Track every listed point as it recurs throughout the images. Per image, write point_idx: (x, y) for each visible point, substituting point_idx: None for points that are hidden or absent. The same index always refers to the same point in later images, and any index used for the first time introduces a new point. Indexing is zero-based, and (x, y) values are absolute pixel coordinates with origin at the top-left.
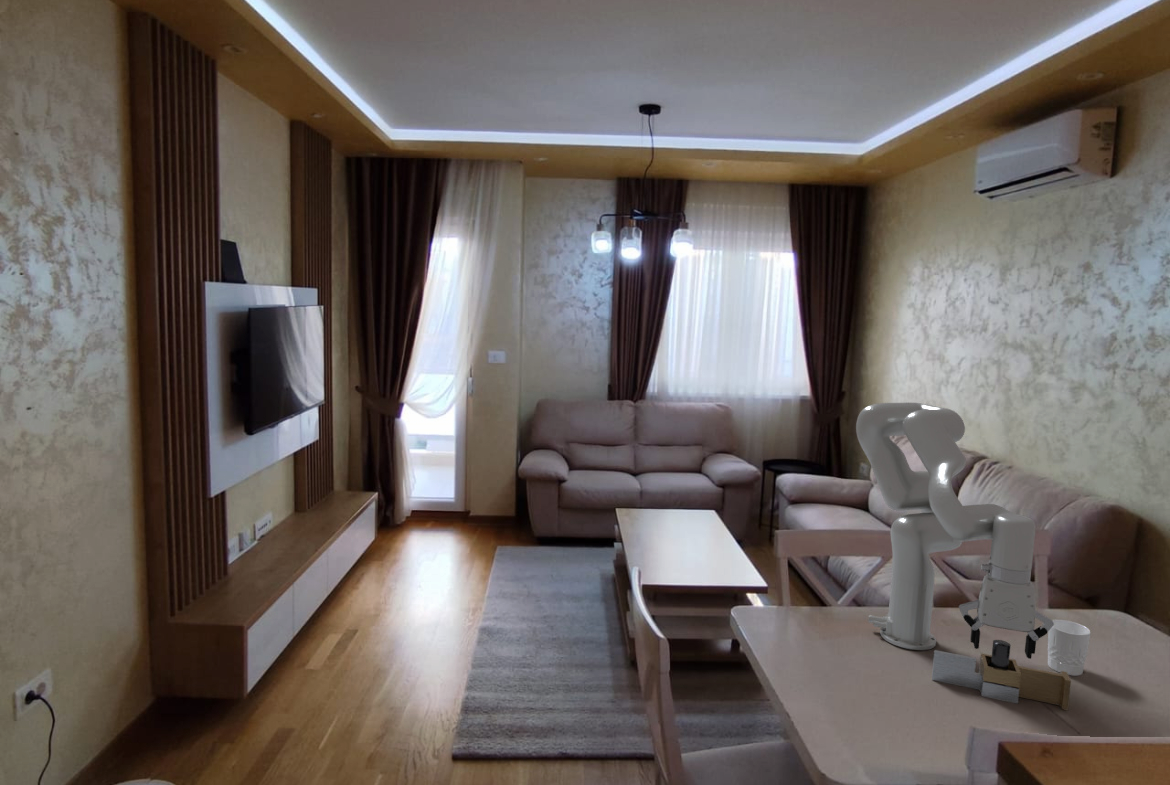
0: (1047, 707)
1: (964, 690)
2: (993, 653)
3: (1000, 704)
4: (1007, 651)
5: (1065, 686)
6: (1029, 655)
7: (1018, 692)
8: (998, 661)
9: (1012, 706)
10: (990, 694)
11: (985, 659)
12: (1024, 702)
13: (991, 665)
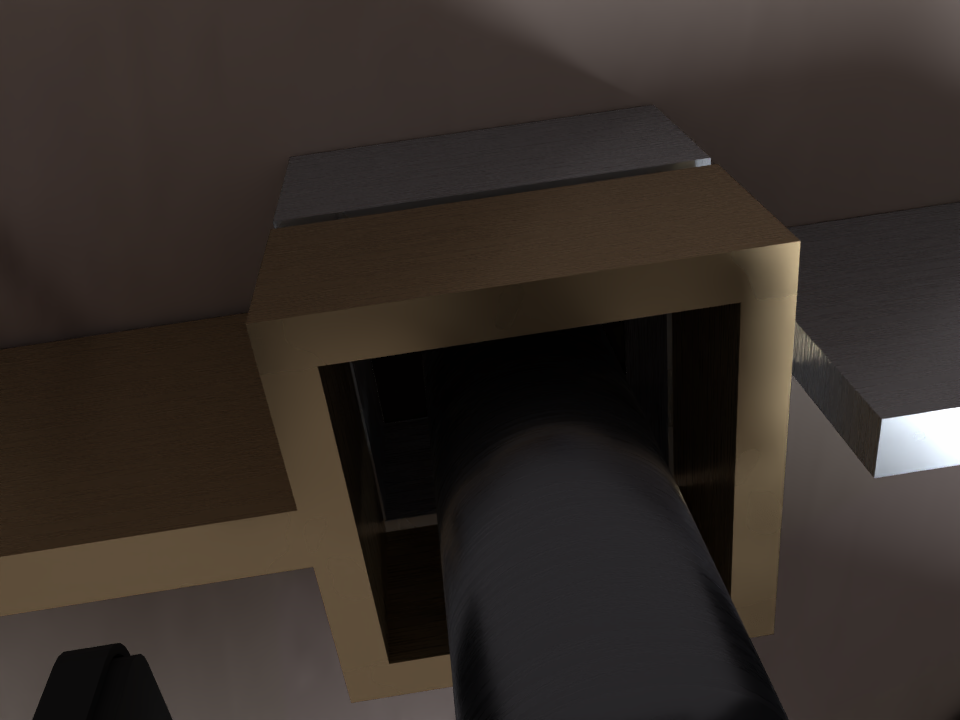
0: (7, 258)
1: (817, 137)
2: (709, 557)
3: (464, 20)
4: (506, 640)
5: None
6: (78, 692)
7: (283, 204)
8: (602, 447)
9: (338, 52)
10: (576, 130)
11: (741, 502)
12: (230, 232)
13: (651, 432)
